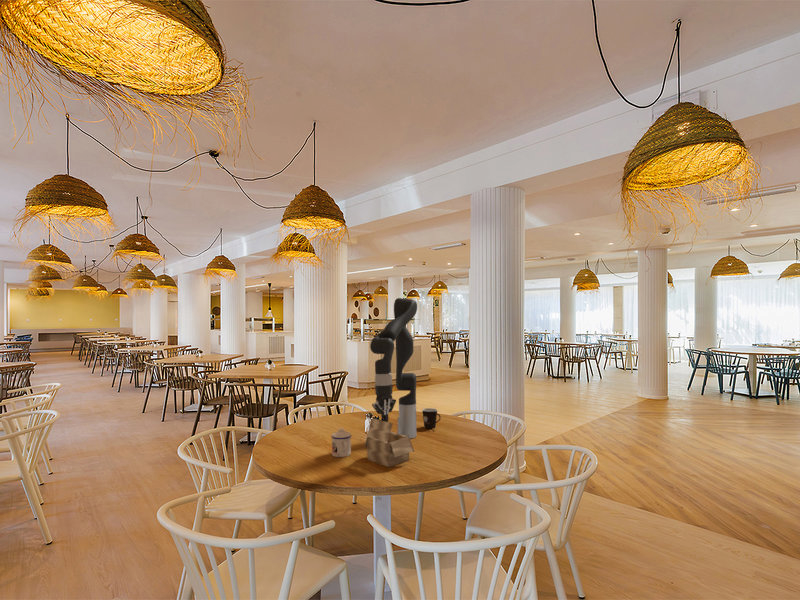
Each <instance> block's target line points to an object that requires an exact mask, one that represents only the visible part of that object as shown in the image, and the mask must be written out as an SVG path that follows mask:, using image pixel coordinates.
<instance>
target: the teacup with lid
mask: <svg viewBox="0 0 800 600" xmlns="http://www.w3.org/2000/svg"><path fill="white" fill-rule="evenodd" d="M351 439H352V434H351V433H350V432H349V431H346V430H345V429H344V428H339V429H338V430H337V431H336V432H332V434H331V455H332V456H333V457H335V458H346V457H348V456H349V457H350V456H351V454H352V440H351ZM345 456H346V457H345Z"/></svg>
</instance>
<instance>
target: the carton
mask: <svg viewBox="0 0 800 600" xmlns="http://www.w3.org/2000/svg"><path fill="white" fill-rule="evenodd" d="M363 447H364V448H366V451H367V456H366V458H367V461H369V462H372V463H376V464H378V465H381V466H384V467H386V468H391V467H395V466H397V465H401V464H403V463H406V462H409V461H410V453H412V452H413V453H414V452H415V449H414V446H413V444H412V441H411V438H409V436H405V435H402V434H398V432H394V431H391V432H390V436H389V440H388V442H384V441H381V440H378V439H374V438H371V437H367V436H366V440H365V442H364V446H363Z"/></svg>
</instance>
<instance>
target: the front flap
mask: <svg viewBox="0 0 800 600" xmlns="http://www.w3.org/2000/svg"><path fill="white" fill-rule="evenodd" d="M393 425H394V424H393V423H392V422H389V421H388V422H385V421H382V419H377V418H373V417H372V418H371V421H370V424H369V427H368V431H367V435H366V438H367V437H371V438H374V439H378V440H381V441H384V442H388V440H389V436H390V432H392V428H393Z"/></svg>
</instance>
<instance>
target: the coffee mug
mask: <svg viewBox="0 0 800 600" xmlns="http://www.w3.org/2000/svg"><path fill="white" fill-rule="evenodd" d="M421 413H422V418H423V419H422V421H423V427H425V428H424V429H426V428H428V429H427V430H433V429H432V428H434V429H436V428H435V427H437V423H438V422H440V421H441V415H440V414H439V413H438V409H437V408H432V407H429V408H428V407H427V408H423V409H422V412H421ZM437 415H438V416H437ZM437 417H439V419H438V420H437Z"/></svg>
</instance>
